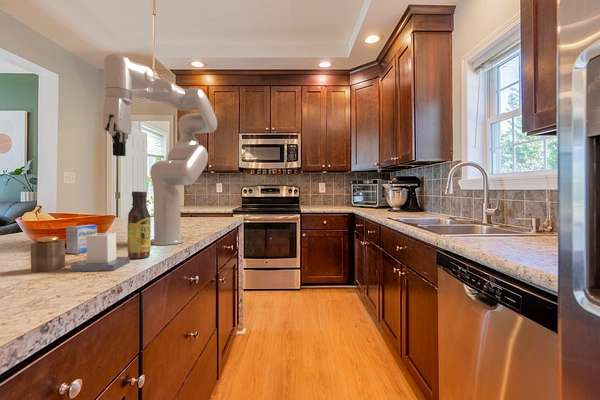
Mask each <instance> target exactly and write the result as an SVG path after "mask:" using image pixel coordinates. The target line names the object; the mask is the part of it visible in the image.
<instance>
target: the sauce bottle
mask: <svg viewBox="0 0 600 400" xmlns="http://www.w3.org/2000/svg"><path fill="white" fill-rule="evenodd" d="M147 194H148V193H147V191H138V190H137V191H131V197H132V204H131V205H132V206H131V208H130V211H129V212H128V215H127V253H128V254H127V257H130V260H132V259H133V260H134V259H135V260H136V259H145V258H146V259H147V258H149V257H150V255H151V249H152V247H151V245H152V244H151V240H152V239H151V237H152V236H151V235H152V233H151V231H152V230H151V221H152V220H151V215H150V212H149V209H148V207H147V196H148V195H147Z"/></svg>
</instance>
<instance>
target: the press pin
mask: <svg viewBox="0 0 600 400" xmlns="http://www.w3.org/2000/svg"><path fill="white" fill-rule="evenodd" d="M59 240H60V237H59V236H41V237H36V242H37V243H51V242H57V241H59Z"/></svg>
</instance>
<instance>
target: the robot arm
mask: <svg viewBox="0 0 600 400" xmlns="http://www.w3.org/2000/svg"><path fill="white" fill-rule="evenodd" d="M103 67H104V68H103V73H104V82H103V83H104V102H103V109H102V111H103V112H102V128H103V130H104V131H105V132H108V133H109V135H111V142H112V156H115V157H126V155H127V151H126V143H127V140H128V139H129V135H131V134H132V132H133V131H132V129H133V128H132V127H133V126H132V125H133V124H132V123H133V122H132V111H131V110H132V109H131V105H132V104H133V97H137V98H141V99H146V100H150V101H154V102H159V103H162V104H165V105H167V106H169V107H171V108H173V109H176V110H177V111H184V112H185V111H198V113H197V112H196V113H186V114H184V115H182V116H181V117H180V118H179V120H178V125H177V126H178V132H179V140H178V141H177V142H176V144H175V145H173V147H172V148H171V149H170V150H169V152H168V154H167V156H166V157H167V158H166V160H160V161H156V162H154V163H153V164H152V166H151V167H150V175H149V176H150V179H151V183H152V184H151V185H152V190H153V191H152V192H153V194H152V195H153V239H151V245H156V246H158V245H159V246H167V245H168V246H169V245H177V244H178V245H179V244H182V243H185V242H186V241H185V238H184V237H181V196H180V192H179V191H178V189H177V187H176V186H191V185H193V184H194V183H195V182H196V181H197V180H198V178H199V177H200V175H201V174H202V173H203V171H204V170H205V168H206V166H207V165H208V163H209V162H208V161H209V154H208V151H207V149H206V147H205V146H203V145H201V144H200V143H199V140H198V139H197V138H196V137H195V134H207V133H208V134H210V133H214V132H216V131H217V127H218V119H217V116H216V114H215V111H214V110H213V107H212V105H211V103H210V100H209V98H208V96H207V95H206V94H205V92H204V91H203V89H201V88H199V87H195V88H193V87H192V88H182V87H180V86H179V85H177V84H175V83H173V82H172V81H171V80H168V79H165V78H156V75H155V73H154V71H153V70H152V68H150V67H149V66H147V64H144V63H140V62H136V61H133V60H130V59H129V58H128V57H127V56H123V55H120V54H114V53H112V54H107V55H106V56H105V57H104V61H103Z"/></svg>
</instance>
